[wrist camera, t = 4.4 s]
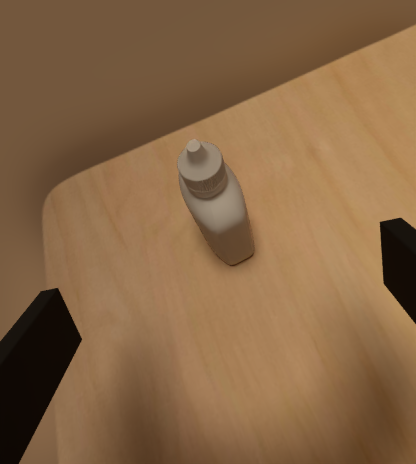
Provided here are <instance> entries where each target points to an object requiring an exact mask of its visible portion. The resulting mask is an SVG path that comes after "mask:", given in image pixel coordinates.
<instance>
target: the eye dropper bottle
mask: <svg viewBox="0 0 416 464" xmlns="http://www.w3.org/2000/svg"><path fill="white" fill-rule="evenodd" d="M177 161H178V162H177V163H178V164H177V167H178V171H179V184H180V189H181V193H182V196H183V198H184V201H185V203H186V205H187V207H188V209H189V210H190V212H191V214H192V216H193V217H194V219H195V221H196V223H197V224H198V226H199V228H200V230H201V231H202V233H203V235H204V237H205V238H206V240H207V242H208V244H209V245H210V247H211V248H212V250H213V251H214V252H215V253H216V254H217V255H218V256H219V257H220V258H221V259H222V260H223V261H224V262H226V263H227V264H230V265H234V264H237V263H239V262H241V261H243V260H245V259H246V258H248V257H250V256H251V255H252V254H253V252H254V241H253V236H252V231H251V226H250V222H249V217H248V212H247V208H246V204H245V199H244V196H243V192H242V189H241V187H240V184H239V182H238V180H237V178H236V176H235V175H234V173H233V172H232V170H231V169H230V168H229V167H228V165H227V164H226V163H225V162H224V160H223V157H222V154H221V152H220V150H219V148H217V147H216V146H215V145H214V144H212V143H208V142H199V141H198V140H196V139H193V140H190V141H189V142H188V143H187V146H186V148H185V149H184V150H183V151H182V152H181V154H180V156H179V158H178V160H177Z"/></svg>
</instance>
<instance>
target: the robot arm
mask: <svg viewBox="0 0 416 464" xmlns="http://www.w3.org/2000/svg"><path fill="white" fill-rule="evenodd" d="M380 232H381V248H382V265H383V281H384V285H385V286H386V287H387V288H388V290H389V291H390V292H391V293H392V295H393V296H394V297H395V298H396V300H397V301H398V302H399V303H400V305H401V306H402V307H403V309H404V310H405V311H406V312H407V314H408V315H409V316H410V317H411V319H412V320H413V321H414V322H415V324H416V229H415V228H413V227H412V226H411V225H410V224H408V223H407V222H406V221H404V220H403V219H402V218H397V219H392V220H387V221H382V222H380ZM81 341H82V338H81V336H80V334H79V332H78V330H77V328H76V325H75V323H74V321H73V319H72V317H71V315H70V313H69V311H68V308H67V306H66V304H65V302H64V300H63V298H62V296H61V294H60V291H59V289H58V288H55V289H50V290H46V291H41V292H40V293H39V295H38V296H37V297H36V298H35V300H34V301H33V302H32V303H31V304H30V306H29V307H28V308H27V309H26V311H25V312H24V313H23V314H22V315H21V317H20V318H19V319H18V320H17V322H16V323H15V324H14V325H13V327H12V328H11V329H10V330H9V331H8V333H7V334H6V335H5V336H4V338H3V339H2V340H1V341H0V464H19V462H20V460H21V458H22V456H23V454H24V452H25V450H26V448H27V446H28V444H29V442H30V441H31V438H32V436H33V435H34V433H35V431H36V429H37V427H38V425H39V423H40V421H41V419H42V417H43V415H44V413H45V411H46V409H47V407H48V405H49V403H50V401H51V399H52V397H53V395H54V394H55V392H56V390H57V388H58V386H59V384H60V382H61V380H62V378H63V376H64V374H65V372H66V370H67V368H68V366H69V364H70V362H71V360H72V358H73V356H74V354H75V352H76V350H77V348H78V346H79V345H80V343H81Z"/></svg>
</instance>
